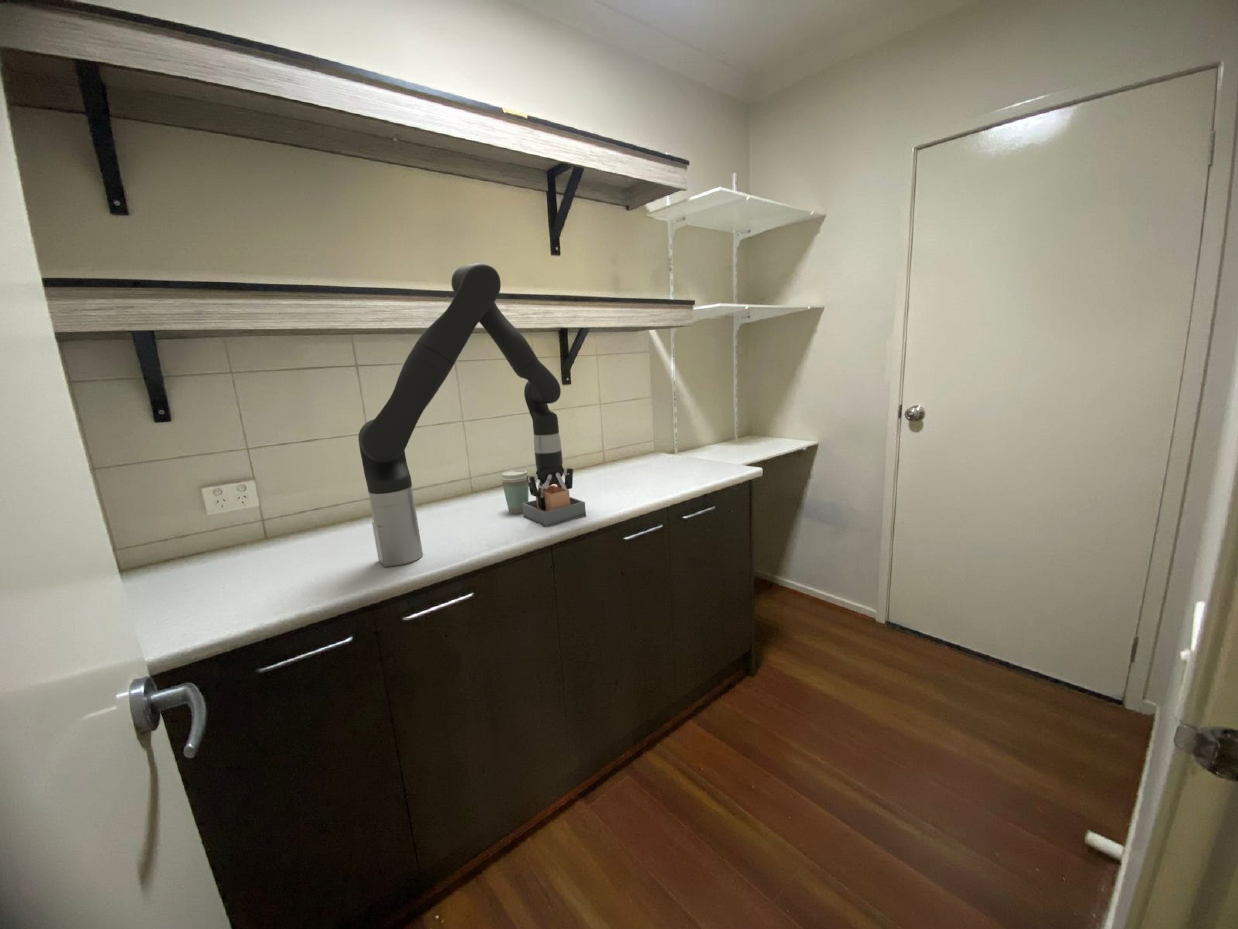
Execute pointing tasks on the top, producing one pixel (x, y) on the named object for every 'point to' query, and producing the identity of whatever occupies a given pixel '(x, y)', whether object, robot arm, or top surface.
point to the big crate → (554, 512)
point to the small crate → (555, 498)
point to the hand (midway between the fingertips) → (553, 506)
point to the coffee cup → (515, 489)
